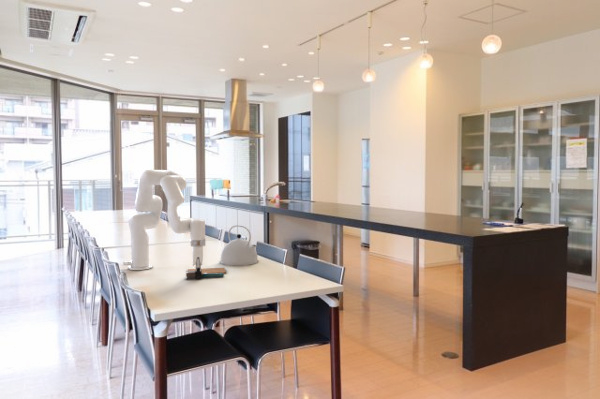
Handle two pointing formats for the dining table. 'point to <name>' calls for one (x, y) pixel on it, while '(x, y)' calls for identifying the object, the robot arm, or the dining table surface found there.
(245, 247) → the kettle
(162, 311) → the dining table surface
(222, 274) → the brush
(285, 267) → the dining table surface
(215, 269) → the cork mat
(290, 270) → the dining table surface
